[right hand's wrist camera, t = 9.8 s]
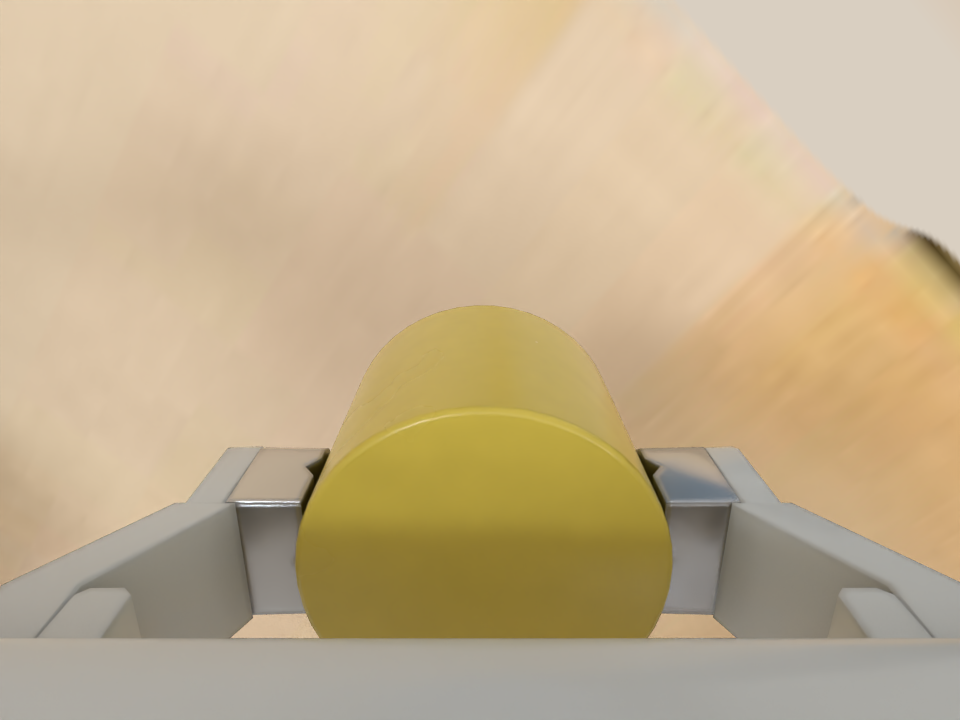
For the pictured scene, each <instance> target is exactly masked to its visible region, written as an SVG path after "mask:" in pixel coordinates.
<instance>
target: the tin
mask: <svg viewBox="0 0 960 720" xmlns="http://www.w3.org/2000/svg"><path fill="white" fill-rule="evenodd" d="M672 568H673V559H672V542H671V537H670V531H669V526H668V523H667V520H666V517H665V515H664V512H663V509H662V506H661V504H660V502H659V500H658V497H657V495H656V493H655V491H654V489H653V487H652V485H651V482H650V480H649V478H648V476H647V474H646V472H645V469H644V467H643V465H642V463H641V461H640V459H639V456H638V454H637V452H636V450H635V448H634V446H633V444H632V441H631V439H630V437H629V435H628V433H627V431H626V428H625V426H624V424H623V422H622V420H621V418H620V416H619V413H618V411H617V409H616V407H615V405H614V403H613V400H612V398H611V396H610V394H609V392H608V390H607V387H606V385H605V383H604V381H603V379H602V377H601V375H600V373H599V371H598V369H597V367H596V366H595V364H594V362H593V361H592V360H591V358H590V357H589V356H588V354H587V353H586V352H585V350H584V349H583V348H582V347H581V346H580V345H579V344H578V343H577V342H576V341H575V340H574V339H573V338H572V337H570V336H569V335H568V334H566V333H565V332H564V331H563V330H561V329H560V328H558V327H557V326H555V325H553V324H551V323H550V322H548V321H546V320H544V319H542V318H540V317H537V316H535V315H532V314H530V313H527V312H524V311H520V310H516V309H512V308H506V307H499V306H476V305H475V306H466V307H458V308H453V309H449V310H445V311H441V312H438V313H436V314H433V315H431V316H428V317H425V318H423V319H421V320H419V321H417V322H416V323H414V324H412V325H410V326H408V327H407V328H406V329H404V330H403V331H401V332H400V333H399V334H397V335H396V336H395V337H394V338H392V339H391V340H390V341H389V342H388V343H387V344H386V345H385V346H384V347H383V348H382V349H381V351H380V352H379V353H378V355H377V356H376V357H375V358H374V360H373V361H372V363H371V364H370V366H369V368H368V370H367V371H366V373H365V375H364V377H363V379H362V381H361V384H360V386H359V388H358V391H357V393H356V395H355V397H354V400H353V402H352V404H351V406H350V409H349V411H348V413H347V416H346V418H345V420H344V422H343V425H342V427H341V429H340V431H339V434H338V436H337V438H336V441H335V443H334V445H333V447H332V450H331V452H330V454H329V457H328V459H327V461H326V463H325V466H324V468H323V470H322V472H321V475H320V477H319V479H318V482H317V484H316V486H315V488H314V491H313V493H312V495H311V497H310V500H309V502H308V504H307V507H306V510H305V512H304V515H303V517H302V520H301V522H300V527H299V531H298V536H297V541H296V552H295V569H296V578H297V585H298V589H299V593H300V597H301V600H302V604H303V607H304V610H305V612H306V614H307V616H308V618H309V621H310V623H311V625H312V627H313V628H314V630H315V631H316V633H317V635H318V636H319V638H648V637H649V635H650V634H651V632H652V631H653V629H654V628H655V626H656V623H657V621H658V619H659V617H660V615H661V613H662V611H663V608H664V605H665V602H666V599H667V596H668V592H669V588H670V582H671V575H672Z"/></svg>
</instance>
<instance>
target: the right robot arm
mask: <svg viewBox="0 0 960 720" xmlns="http://www.w3.org/2000/svg"><path fill="white" fill-rule="evenodd" d="M636 452H637V454H638V456H639V459H640V461H641V463H642V465H643V467H644V469H645V472H646V474H647V476H648V478H649V480H650V482H651V485H652V487H653V489H654V491H655V493H656V495H657V497H658V500H659V502H660V504H661V506H662V509H663V512H664V515H665V517H666V520H667V523H668V526H669V531H670V537H671V542H672V559H673V568H672V575H671V582H670V588H669V592H668V596H667V599H666V602H665V605H664V608H663V611H662V613H667V614H704V615H713V618H714V619H716V620H717V621H718V622H719V623H720V624H721V625H722V626H724V627H725V628H726V629H727V630H728V631H729V632H730V633H732V634H733V635H734V636H735V637H736V638H231V637H232V636H233V635H234V634H235V633H236V632H237V631H239V630H240V629H241V628H242V627H243V626H244V625H245V624H247V623H248V622H249V621H250V620H251V619H252V618H253V615H262V614H298V613H306V612H305V610H304V607H303V604H302V600H301V597H300V593H299V589H298V585H297V578H296V569H295V552H296V541H297V536H298V531H299V527H300V522H301V520H302V517H303V515H304V512H305V510H306V507H307V504H308V502H309V500H310V497H311V495H312V493H313V491H314V488H315V486H316V484H317V482H318V479H319V477H320V475H321V472H322V470H323V468H324V466H325V463H326V461H327V459H328V457H329V454H330V450H329V449H328V448H274V447H266V448H263V447H233V448H228V449H227V450H226V451H225V452H224V454H223V455H222V456H221V457H220V459H219V460H218V461H217V463H216V464H215V465H214V467H213V468H212V469H211V470H210V472H209V473H208V474H207V476H206V477H205V478H204V480H203V481H202V482H201V484H200V485H199V486H198V487H197V489H196V490H195V491H194V493H193V494H192V495H191V497H190V498H189V499H188V500H187V502H186V503H174V504H172V505H170V506H168V507H166V508H163V509H161V510H159V511H157V512H155V513H153V514H151V515H149V516H147V517H144V518H142V519H140V520H138V521H136V522H134V523H132V524H130V525H128V526H125V527H123V528H121V529H119V530H117V531H115V532H113V533H111V534H109V535H107V536H104V537H102V538H100V539H98V540H96V541H94V542H92V543H90V544H88V545H85V546H83V547H81V548H79V549H77V550H75V551H73V552H71V553H69V554H66V555H64V556H62V557H60V558H58V559H56V560H54V561H52V562H50V563H47V564H45V565H43V566H41V567H39V568H37V569H35V570H33V571H31V572H28V573H26V574H24V575H22V576H20V577H18V578H16V579H14V580H12V581H9V582H7V583H5V584H3V585H1V586H0V720H960V582H958V581H956V580H954V579H952V578H950V577H948V576H946V575H943V574H941V573H939V572H937V571H935V570H933V569H931V568H929V567H926V566H924V565H922V564H920V563H918V562H916V561H914V560H912V559H910V558H907V557H905V556H903V555H901V554H899V553H897V552H895V551H893V550H890V549H888V548H886V547H884V546H882V545H880V544H878V543H876V542H873V541H871V540H869V539H867V538H865V537H863V536H861V535H859V534H856V533H854V532H852V531H850V530H848V529H846V528H844V527H842V526H839V525H837V524H835V523H833V522H831V521H829V520H827V519H825V518H822V517H820V516H818V515H816V514H814V513H812V512H810V511H808V510H805V509H803V508H801V507H799V506H797V505H795V504H793V503H781V502H780V501H779V500H778V498H777V497H776V496H775V495H774V493H773V492H772V491H771V490H770V488H769V487H768V486H767V484H766V483H765V482H764V481H763V479H762V478H761V477H760V476H759V474H758V473H757V472H756V471H755V469H754V468H753V467H752V465H751V464H750V463H749V462H748V460H747V459H746V458H745V457H744V455H743V454H742V453H741V451H740V450H739V449H737V448H735V447H710V448H704V447H688V448H646V449H637V450H636Z"/></svg>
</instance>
